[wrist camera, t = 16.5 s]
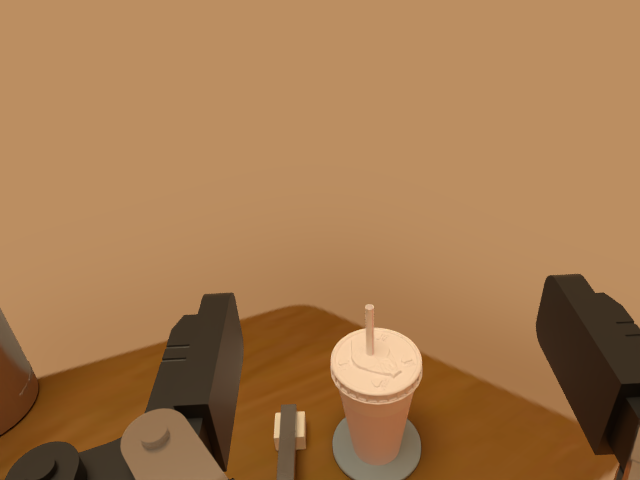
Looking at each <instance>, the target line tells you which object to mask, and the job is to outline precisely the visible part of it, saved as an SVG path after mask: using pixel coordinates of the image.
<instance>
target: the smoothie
mask: <svg viewBox="0 0 640 480" xmlns="http://www.w3.org/2000/svg"><path fill="white" fill-rule="evenodd" d="M365 311H366V313H365V315H366V329H361V330H357V331H355V332H352V333H350V334H348V335H346V336H345V337H344V338H342V339H341V340H340V341H339V342H338V343H337V344H336V346H335V347H334V349H333V352H332V355H331V367H330V368H331V376H332V379H333V381H334V383H335V385H336V386H337V387H338V388H339V392H340V395H341V399H342V403H343V407H344V411H345V415H346V419H347V424H348V428H349V432H350V436H351V440H352V444H353V448H354V451H355V453H356V455H357V456H358V457H359V458H360V459H361V460H362V461H363V462H365V463H367V464H370V465H376V466H379V465H385V464H388V463H390V462H391V461H393V460H394V459H395V458H396V456H397V455H398V453H399V449H400V445H401V441H402V437H403V433H404V429H405V425H406V421H407V416H408V412H409V408H410V404H411V400H412V396H413V392H414V390H415V389H416V388H417V387H418V385H419V383H420V381H421V378H422V358H421V354H420V352H419V350H418V348H417V346H416V345H415V344H414V343H413V342H412V341H411V340H410V339H409V338H407V337H406V336H404V335H402V334H400V333H398V332H396V331H393V330H389V329H384V328H374V306H373V305H371V304H368V305H366V306H365Z"/></svg>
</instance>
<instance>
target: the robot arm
mask: <svg viewBox="0 0 640 480" xmlns="http://www.w3.org/2000/svg"><path fill="white" fill-rule="evenodd" d="M536 332H537V338H538V341H539V344H540V346H541V348H542V350H543V352H544V354H545V356H546V358H547V360H548V362H549V364H550V366H551V368H552V370H553V372H554V374H555V376H556V378H557V380H558V382H559V384H560V386H561V388H562V390H563V392H564V394H565V396H566V398H567V400H568V402H569V404H570V406H571V408H572V410H573V412H574V414H575V416H576V418H577V420H578V422H579V424H580V426H581V428H582V430H583V432H584V434H585V436H586V438H587V440H588V442H589V444H590V446H591V448H592V450H593V451H594V453H595V455H606V454H615V456H616V458H617V460H618V462H619V463H620V464H619V466H618V469H617V471H616V474H615V478H614V480H640V329H639V327H638V326H637V325H636V324H634V321H633V319H632V318H631V317H630V315H629V314H628V313H627V311H626V310H625V309H624V307H623V306H622V305H621V304H619V303H618V302H616V301H615V300H613V299H612V298H611V297H609V296H608V295H606V294H605V293H595V292H594V291H593V289H592V288H591V287H590V285H589V284H588V282H587V281H586V279H584V277H583V276H582V275H581V274H570V275H569V274H568V275H550V276H548V277H547V278H546V280H545V284H544V288H543V293H542V297H541V302H540V306H539V311H538V316H537V321H536ZM242 363H243V337H242V331H241V326H240V321H239V316H238V311H237V306H236V301H235V296H234V294H233V293H218V294H205V295H204V296H203V298H202V301H201V305H200V309H199V312H198V314H196V315H184V316H183V317H182V318H181V319H180V321H179V322H178V323H177V324H176V325H175V326H174V328H173V329H172V330H171V333H170V336H169V339H168V343H167V349H165V352H164V355H163V358H162V362H161V364H160V367H159V371H158V374H157V377H156V380H155V383H154V386H153V389H152V392H151V395H150V399H149V402H148V405H147V408H146V411H145V413H144V414H143V415H141V416H139V417H138V418H136V419H135V420H134V421H133V422H132V423H131V424H130V425H129V426H128V427H127V429H126V430H125V432H124V434H123V436H122V437H121V438H119V439H117V440H115V441H112V442H110V443H107V444H104V445H101V446H98V447H95V448H92V449H89V450H86V451H83V452H80V453H78V452H77V450H76V449H75V448H74V446H72V445H71V444H69V443H66V442H50V443H46V444H42V445H40V446H38V447H35V448H34V449H32V450H30V451H29V452H27V453H26V454H24V455H23V456H22V457H21V458H20V459H19V460H18V461H17V462H16V463H15V464H14V465H13V466H12V468H11V469H10V470H9V472H8V474H7V476H6V478H5V480H229V479H228V478H227V477H226V475H225V474H224V472H226V471H227V464H228V458H229V451H230V444H231V437H232V430H233V424H234V417H235V410H236V403H237V397H238V390H239V383H240V376H241V369H242ZM38 385H39V384H38V381H37V378H36V376H35V374H34V372H33V370H32V367H31V365H30V363H29V361H27V359H26V357H25V355H24V353H23V351H22V350H21V347H20V345H19V343H18V341H17V339H16V338H15V335H14V333H13V332H12V330H11V328H10V326H9V324H8V322H7V320H6V318H5V316H4V314H3V313H2V310H1V309H0V435H1V434H3V433H4V432H5V431H7V430H8V429H10V428H11V427H13V426H14V425H15V424H16V423H17V422H18V421H19V420H21V419H22V418H23V417H24V415H25V414H26V413H27V412H28V411H29V409H30V408H31V406H32V405H33V403H34V401H35V400H36V397H37V394H38ZM230 480H235V479H233V478H232V479H230Z"/></svg>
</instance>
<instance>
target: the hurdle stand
mask: <svg viewBox="0 0 640 480" xmlns="http://www.w3.org/2000/svg"><path fill="white" fill-rule="evenodd" d="M280 417H281V413H276V414H275V429H274V442H275V448H276V451H278V450H279V434H280ZM298 449H306V419H305V411H304V412H297V442H296V450H298Z"/></svg>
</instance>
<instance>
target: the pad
mask: <svg viewBox="0 0 640 480" xmlns="http://www.w3.org/2000/svg"><path fill="white" fill-rule="evenodd" d="M333 454H334V458H335V460H336V462H337V464H338V466H339V468H340V469H341V470H342V471H343V473H345V474H346V475H347V476H348V477H349V478H351V479H352V480H405V479H406V478H407V477H409V476H410V475H411V474H412V473H413V471H414V470H415V469H416V467H417V465H418V463H419V460H420V455H421V441H420V437H419V434H418V432H417V430H416V428H415V427H414V425H413V424H412V423H411V422H410V421H409V420H408V419H407V421H406V425H405V429H404V433H403V437H402V441H401V445H400V449H399V453H398V455H397V456H396V458H395V459H394V460H393V461H391V462H390V463H388V464H385V465H379V466H376V465H370V464H367V463H365V462H363V461H362V460H361V459H360V458H359V457H358V456H357V455H356V453H355V451H354V448H353V444H352V440H351V436H350V432H349V428H348V424H347V419H346V417H345V418H344V419H343V420H342V421H341V422H340V423H339V425H338V426H337V428H336V430H335V433H334V436H333Z"/></svg>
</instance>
